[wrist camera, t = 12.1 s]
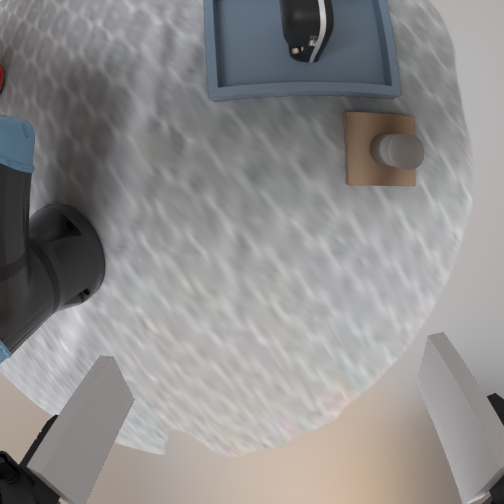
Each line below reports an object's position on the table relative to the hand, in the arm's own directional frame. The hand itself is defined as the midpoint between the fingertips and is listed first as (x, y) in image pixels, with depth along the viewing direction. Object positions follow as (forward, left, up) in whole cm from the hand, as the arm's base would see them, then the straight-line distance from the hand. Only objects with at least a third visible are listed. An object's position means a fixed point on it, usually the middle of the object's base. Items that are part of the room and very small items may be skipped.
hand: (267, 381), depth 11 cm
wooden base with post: (+12, +8, -25) cm, 29 cm away
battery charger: (+4, +21, -24) cm, 33 cm away
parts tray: (+4, +21, -25) cm, 33 cm away
